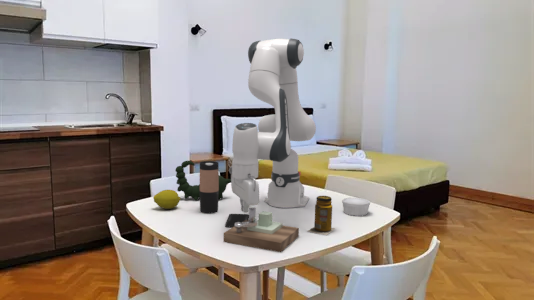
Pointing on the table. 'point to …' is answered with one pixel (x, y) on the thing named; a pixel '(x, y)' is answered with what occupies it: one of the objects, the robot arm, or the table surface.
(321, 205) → the condiment
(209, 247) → the table surface
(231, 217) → the phone
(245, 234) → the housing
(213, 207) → the travel mug
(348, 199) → the ramekin
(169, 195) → the lemon
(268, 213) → the cover
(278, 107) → the robot arm
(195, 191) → the toy figurine
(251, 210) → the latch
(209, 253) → the table surface
